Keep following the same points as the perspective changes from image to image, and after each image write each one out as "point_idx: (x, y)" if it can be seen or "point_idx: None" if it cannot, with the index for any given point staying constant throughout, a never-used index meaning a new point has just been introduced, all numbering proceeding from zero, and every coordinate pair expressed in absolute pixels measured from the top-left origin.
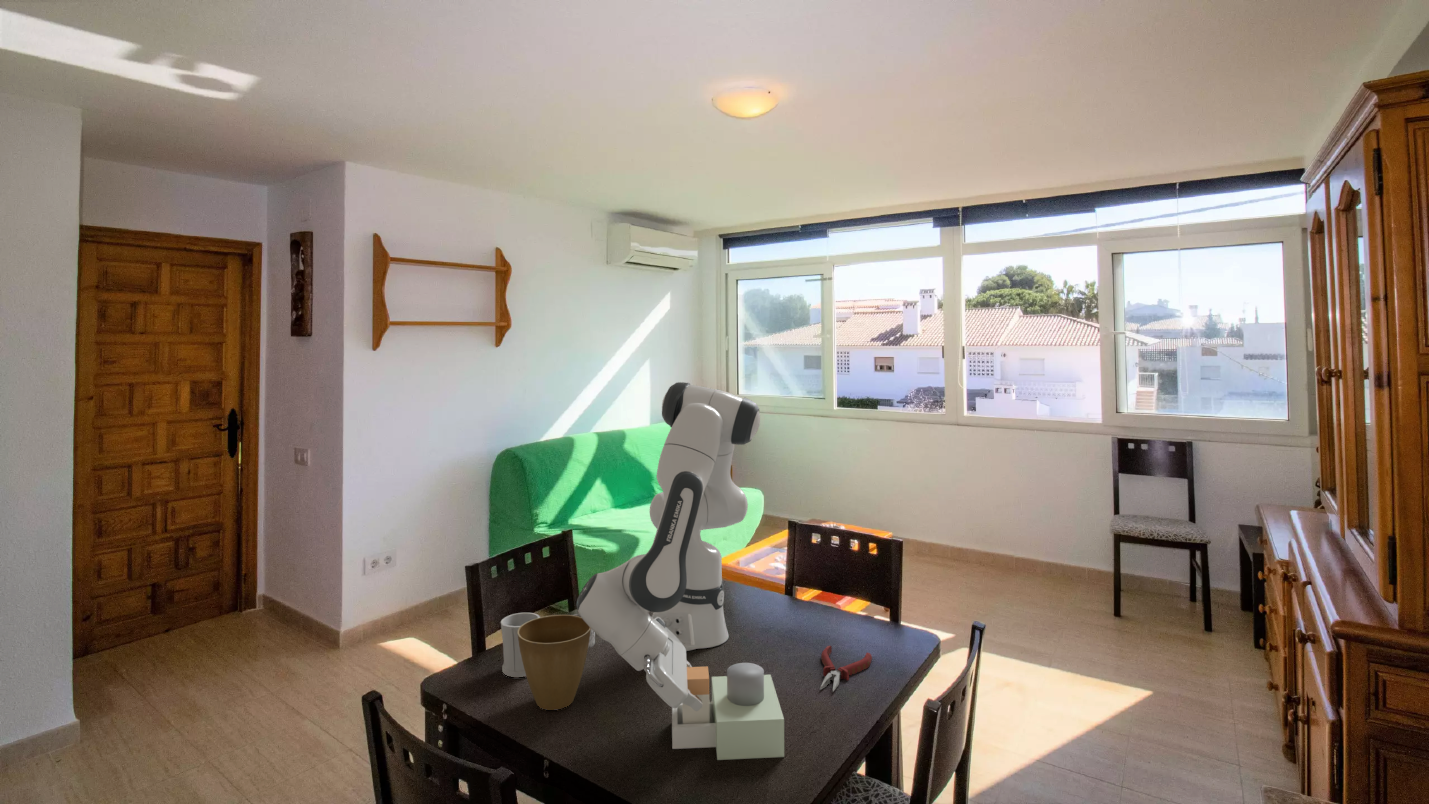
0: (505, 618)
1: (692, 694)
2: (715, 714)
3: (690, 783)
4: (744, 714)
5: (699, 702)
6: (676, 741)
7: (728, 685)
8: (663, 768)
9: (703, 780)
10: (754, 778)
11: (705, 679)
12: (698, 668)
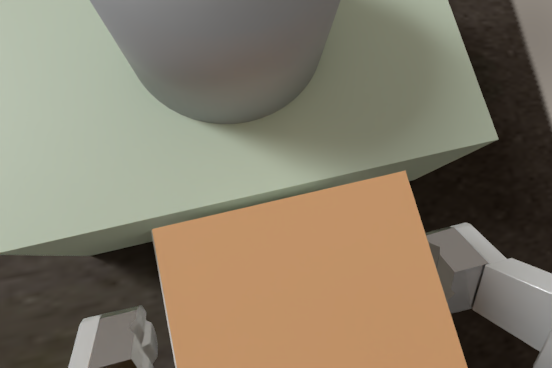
0: None
1: (544, 289)
2: (368, 174)
3: (548, 243)
4: (400, 22)
5: (482, 239)
6: None
7: (284, 69)
8: (501, 354)
9: (522, 205)
10: (472, 62)
11: (415, 204)
12: (212, 321)
